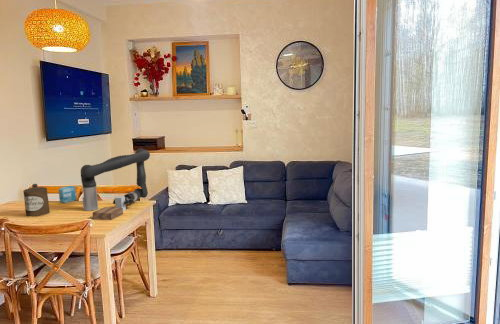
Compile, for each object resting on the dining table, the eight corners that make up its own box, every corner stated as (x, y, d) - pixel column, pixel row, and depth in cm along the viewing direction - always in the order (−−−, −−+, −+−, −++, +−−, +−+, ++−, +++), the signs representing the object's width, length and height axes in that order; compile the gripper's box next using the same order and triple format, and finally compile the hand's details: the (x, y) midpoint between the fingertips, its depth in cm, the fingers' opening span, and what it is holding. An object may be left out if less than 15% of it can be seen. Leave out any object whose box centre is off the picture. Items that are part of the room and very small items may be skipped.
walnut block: (93, 219, 250) (92, 212, 249) (105, 213, 263) (105, 207, 262) (111, 220, 246) (110, 213, 246) (123, 214, 260) (122, 207, 259)
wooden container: (21, 217, 258) (18, 186, 255) (32, 211, 273) (29, 182, 270) (43, 216, 259) (40, 185, 256) (53, 210, 274) (50, 181, 271)
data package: (63, 203, 295) (62, 188, 293) (59, 203, 297) (58, 188, 295) (76, 200, 306) (75, 185, 304) (72, 199, 308) (71, 185, 306)
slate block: (115, 211, 268) (114, 197, 267) (119, 209, 273) (118, 196, 272) (122, 211, 267) (121, 197, 266) (125, 209, 272) (124, 196, 271)
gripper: (121, 192, 284) (109, 197, 269) (138, 193, 282) (127, 198, 266) (122, 202, 285) (110, 207, 270) (139, 202, 283) (128, 208, 267)
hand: (119, 202), depth 268 cm, fingers open, 8 cm apart
